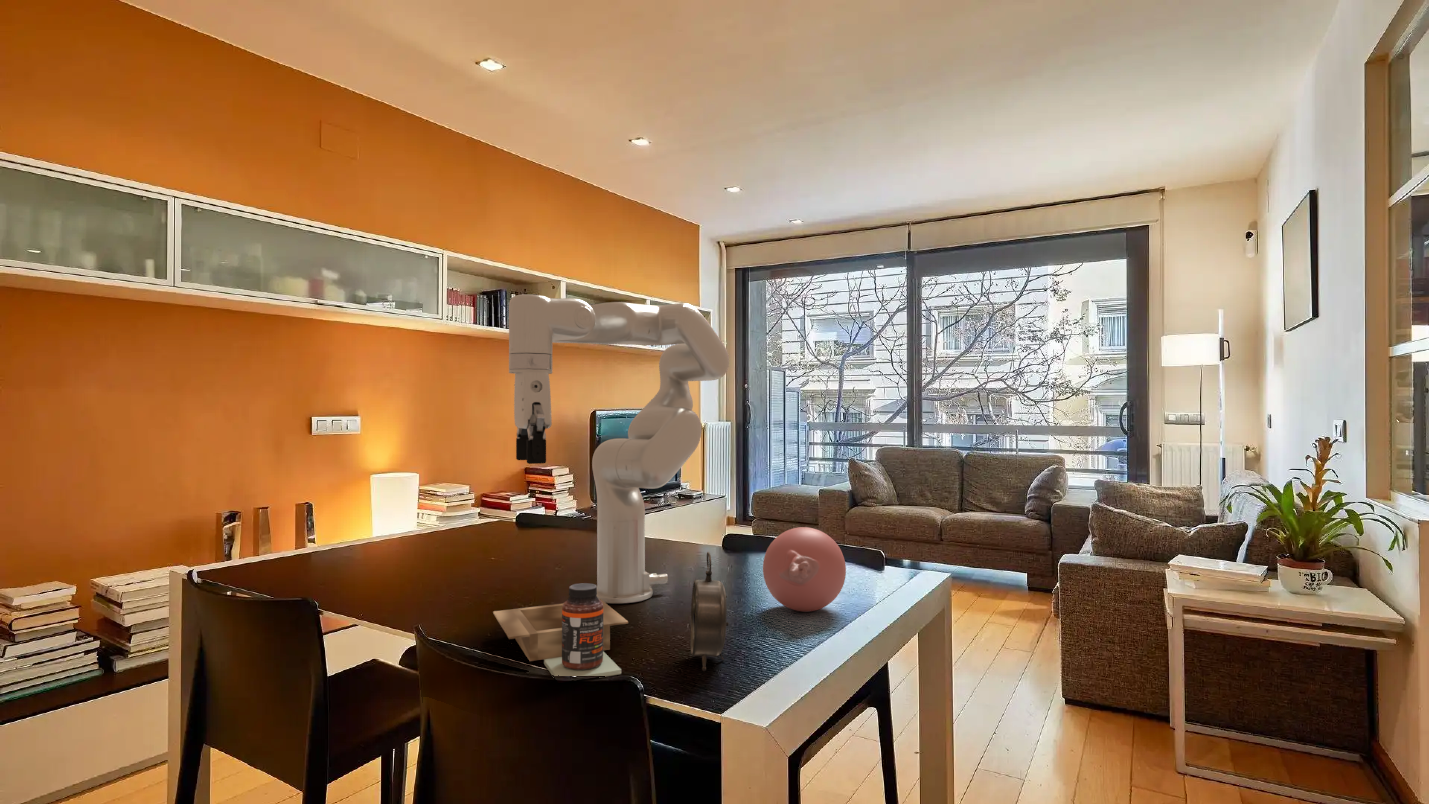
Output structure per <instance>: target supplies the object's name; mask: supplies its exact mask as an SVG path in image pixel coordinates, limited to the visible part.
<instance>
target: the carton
mask: <svg viewBox="0 0 1429 804" xmlns="http://www.w3.org/2000/svg"><path fill="white" fill-rule="evenodd" d="M599 600H601V599H599ZM601 601H602V600H601ZM602 603H603V645H604V646H603V651H610V650H611V641H610V640H611V627H612V626H618V625H626V624H629V621H628V620H627V619H626V618H625V617H624V616H622V615H621V614H620V613H618V612H617V611H616V610H615V609H613V608H612V607H611V606H610V605H608V603H605V602H604V601H602ZM563 604H564V602H563V603H554V604H547V605H546V604H545V605H538V606H536V605H535V606H529V607H520V608H513V609H503V610H501V609H500V610H494V611H492V613H493V615H494V617H495V618H496V620H497V622H498V624H499V625H500V627H501V628H502V630H503V632H504V633H505V635H506V637H507V638H508V640H514V639H515V641H516V642H517V644H518V645H519V647H520V649H521V650H522V652H523V653H524V655H525V657H527V659H528V660H529V662H534V661H541V660H544V659H551V658H557V657H562V606H563Z"/></svg>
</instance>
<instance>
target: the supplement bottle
mask: <svg viewBox="0 0 1429 804" xmlns="http://www.w3.org/2000/svg"><path fill="white" fill-rule="evenodd" d="M596 595H597V584H594V583H587V582H584V583H574V584H572V585H570V586H569V587H568V598H567V600H565V601H564V602H563V603H564V604H563V606H562V664H563V665H564V666H565V667H567V668H570V669H573V670H586V669H591V668H595V667H596V666H598V665H600V664H601V663H602V662H603V651H604V650H603V646H604V645H603V603H602V601H601V600H599V599H598V597H597V596H596Z"/></svg>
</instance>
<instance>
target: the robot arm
mask: <svg viewBox="0 0 1429 804" xmlns="http://www.w3.org/2000/svg"><path fill="white" fill-rule="evenodd" d="M553 343H559V344H562V343H563V344H593V345H594V344H595V345H596V344H597V345H625V346H627V345H628V346H629V345H630V346H632V345H634V346H637V345H638V346H669V347H667V348H665V350H664V351H663V352H662V354H661V355H660V358H659V362H658V368H659V369H658V370H659V382H660V383H659V390H658V391H657V393H656V394H655V395H654V397H652V399H651V400H650V401H649V402H648V403H647V404H645V406H644V407H643V408H642V409H641V410H640V411H639V412H638V413H637V414H636V416H635V417H633V419H632V420H631V421H630V424H629V426H628V430H627V438H625V437H624V438H611V439H608V440H605V441H603V442H602V443H600V444H599V445H598V446H597V448H595V450H594V451H593V452H594V453H593V456H592V460H591V461H592V462H591V464H592V465H591V466H592V473H593V475H592V476H593V478H594V484H595V489H596V490H595V491H596V510H597V511H596V513H597V514H596V516H597V517H596V521H597V522H596V527H597V529H596V534H597V535H596V537H597V538H596V540H597V544H596V547H597V550H596V551H597V552H596V553H597V554H596V555H597V556H596V557H597V558H596V559H597V560H596V561H597V562H596V565H597V566H596V567H597V569H596V570H597V571H596V575H597V576H596V578H597V579H596V580H597V581H596V583H597V584H596V586H597V595H596V596H597V597H598V599H601V600H602V601H604V602H605V603H606V604H630V603H638V602H642V601H645V600H649V599H650V598H651V597H652V596H653V592H654V591H653V588H652V587H653V586H654V585H662V584H668V582H669V577H668V574H667V573H660V574H657V573H656V572H655V573H649V572H647V570H645V569H646V568H645V567H646V564H645V563H646V560H645V559H646V551H645V550H646V543H645V542H646V537H645V536H646V533H645V532H646V528H645V526H646V523H645V521H646V508H645V502H644V498H643V496H642V495H643V494H642V492H641V490H640V489H648V490H649V489H659V488H662V487H663V486H665V485H666V484H667V483H668V482H670V481H671V480H672V478H674V476H675V475H676V474H677V473H678V472H679V471H680V470H681V468H682V467H683V466H684V464H685V463H687V461H688V459H689V458H690V457H692V455H693V454H694V452H695V450H696V449H697V447H698V446H699V444H700V441H701V437H702V428H703V427H702V422H701V418H700V417H699V415H698V414H697V413H696V412H695V411H694V410H693V407H694V401H693V397H692V394H691V391H690V385H689V384H690V383H689V382H705V381H707V382H709V381H716V380H719V379H721V378H723V377H724V376H725V375H726V374H727V372H728V370H729V367H730V356H729V353H728V350H727V347H726V346H725V344H724V343H723V341H722V340H721V338H720V337H719V335H718V334H717V333H716V332H715V330H714V328H713V327H712V325H711V324H710V322H709V321H708V320H707V319H706V317H705V316H704V315H703V314H702V312H700V310H699V309H698V308H696V307H695V306H694V305H692V304H690V303H687V302H680V303H673V304H663V305H659V304H658V305H654V304H643V303H635V302H634V303H632V302H625V301H611V302H603V303H596V304H589V303H588V302H586V301H585V300H582V299H579V298H577V297H576V298H575V297H574V298H573V297H570V298H569V297H568V298H562V297H561V298H553V297H548V296H545V295H542V294H532V293H531V294H530V293H529V294H527V293H526V294H518V295H513V296H512V297H511V298H510V300H509V303H508V374H512V375H513V374H514V385H513V386H514V394H513V395H514V397H513V400H514V401H513V403H514V404H513V406H514V407H513V409H514V410H513V412H514V413H513V414H514V415H513V417H514V425H515V427H516V439H515V446H516V447H515V459H516V460H517V461H526V463H527V464H528V465H536V464H537V465H539V464H546V462H547V434H546V430H547V429H550V428H551V427H552V424H553V423H552V421H553V420H552V401H551V400H552V399H551V398H552V396H551V382H550V375H552V374H553Z"/></svg>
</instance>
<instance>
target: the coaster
mask: <svg viewBox="0 0 1429 804" xmlns="http://www.w3.org/2000/svg"><path fill="white" fill-rule="evenodd" d="M543 664H544V666H545V667H546V669H547V670H548V671H549V673H550V674H551V676H552V675H554V676H558V675H559V676H605V677H611V676H617V675H622V668H621V667H620V666H618V665H617V664H616V662H615V661H614V660H613V659H611V657H609V655H607V653H606V652H605V650H603V662H602V663H601V664H600V665H598V666H596V667H595V668H591V669H586V670H573V669H570V668H567V667H565V666H564V665H563V664H562V657H556V658H549V659H543Z"/></svg>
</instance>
